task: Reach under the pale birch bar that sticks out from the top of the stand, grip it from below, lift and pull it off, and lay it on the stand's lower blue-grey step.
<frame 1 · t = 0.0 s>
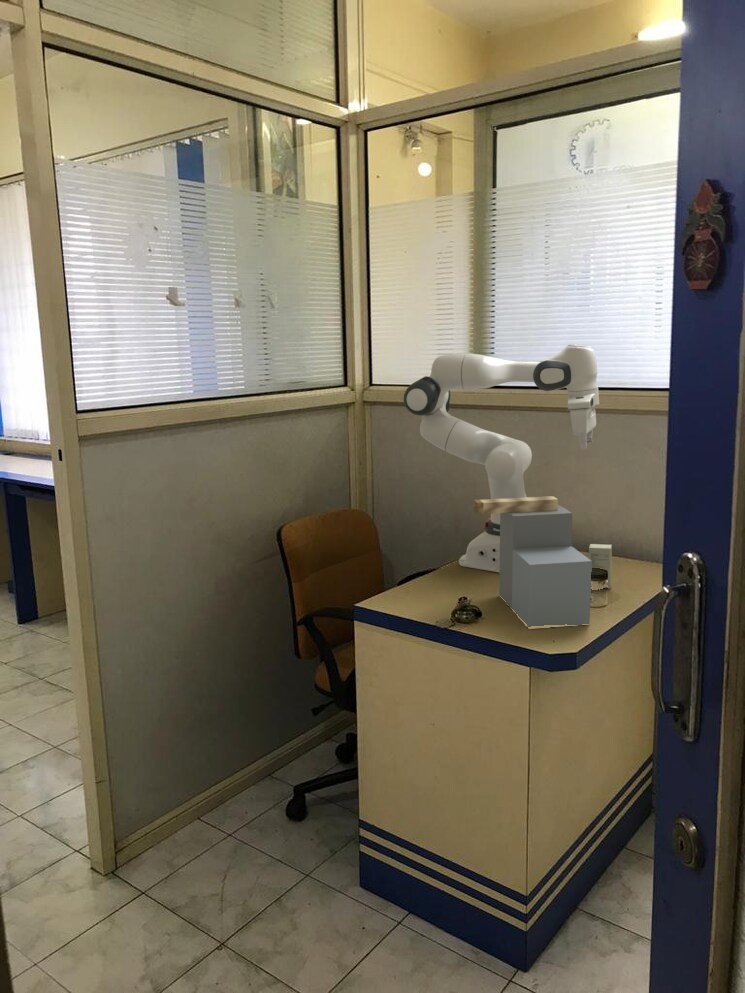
hand: (586, 446, 243), 39 cm above the table, tool pointing down, fingers open, 8 cm apart
birch bar: (515, 510, 220), point 26 cm above the table, touching stepped stand
stepped stand: (533, 601, 227), on the table
skincare box: (599, 587, 238), on the table
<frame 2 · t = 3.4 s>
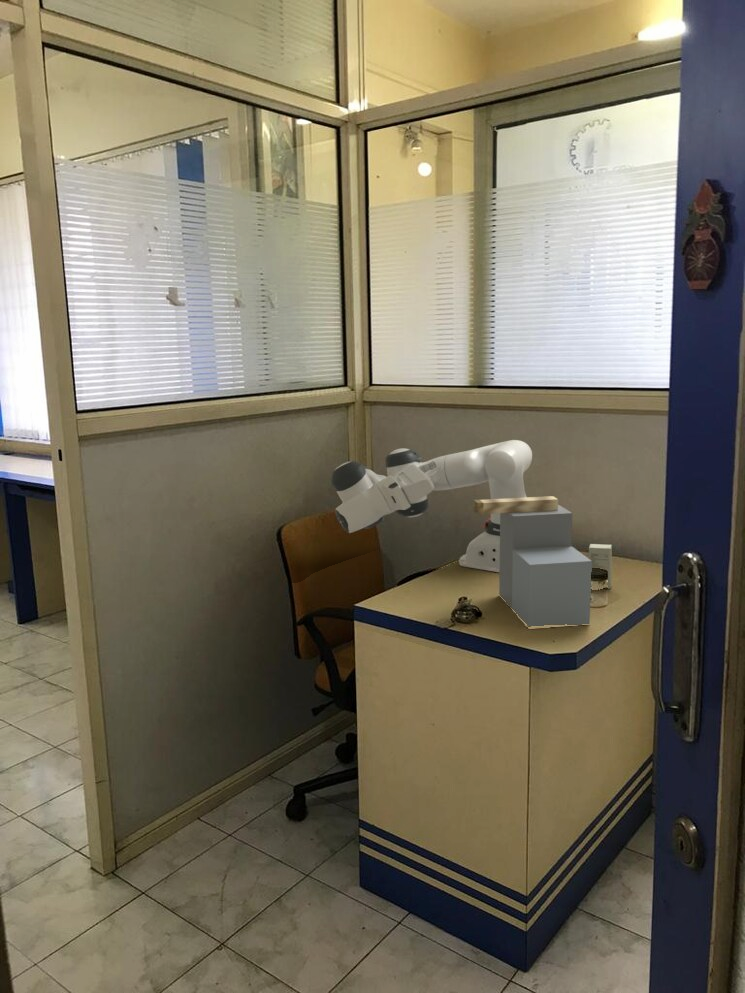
hand: (439, 466, 215), 39 cm above the table, tool pointing upward, fingers open, 8 cm apart
nothing on the table moved.
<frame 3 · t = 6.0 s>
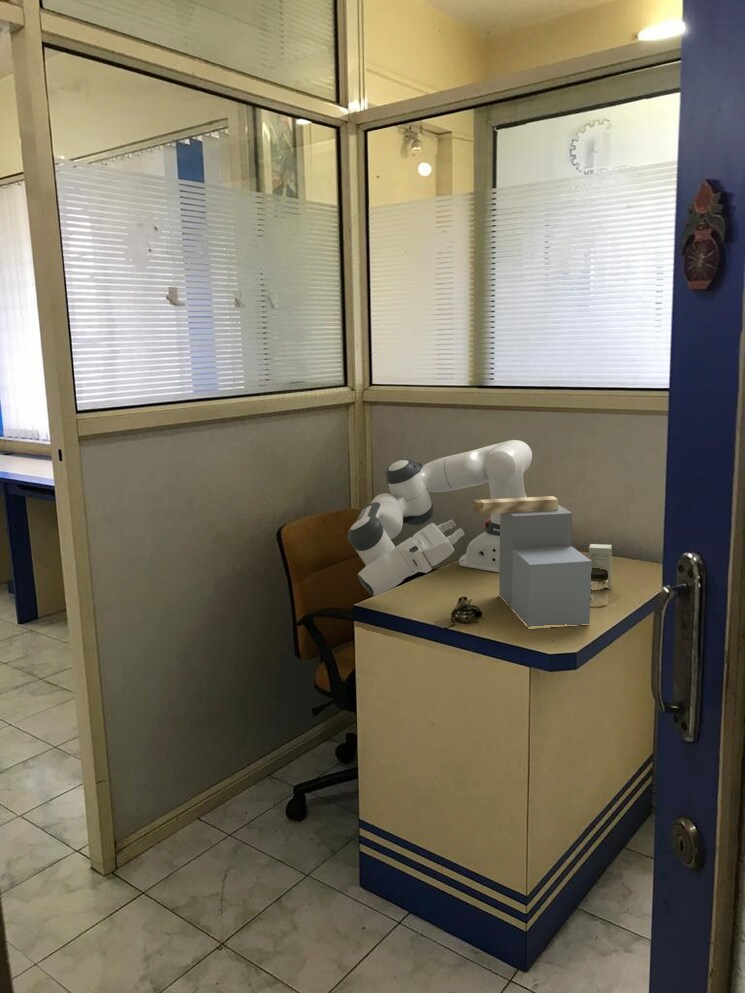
hand: (458, 526, 219), 23 cm above the table, tool pointing upward, fingers open, 8 cm apart
nothing on the table moved.
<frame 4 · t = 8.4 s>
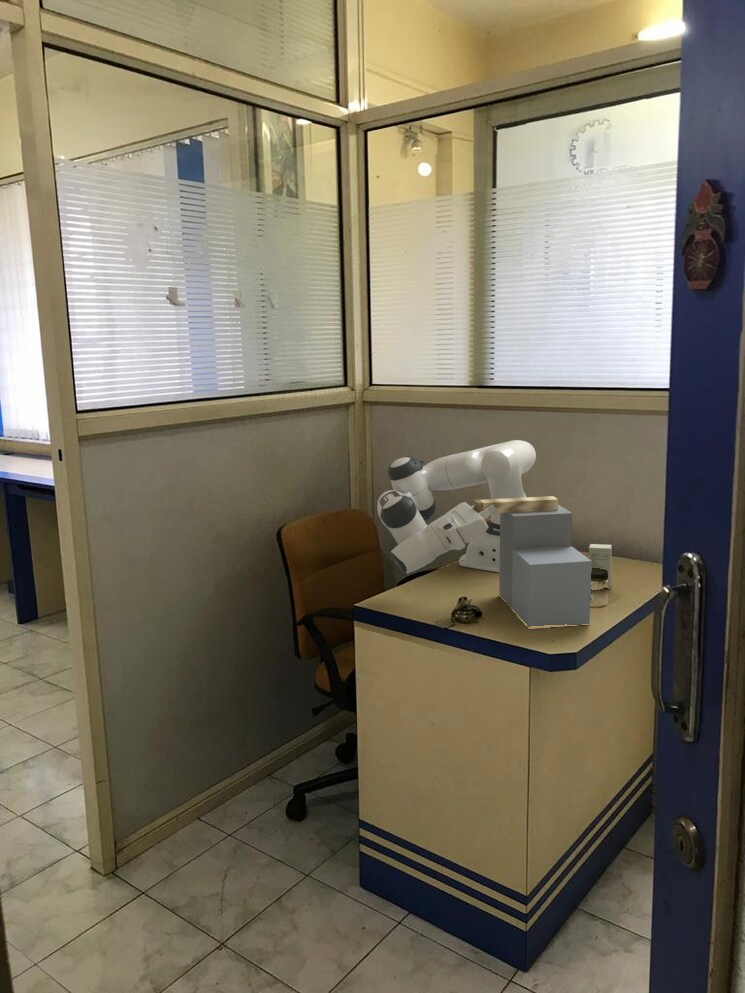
hand: (491, 504, 219), 28 cm above the table, tool pointing upward, fingers closed on birch bar, 4 cm apart
birch bar: (515, 510, 220), point 26 cm above the table, touching gripper, stepped stand
everything else where it was.
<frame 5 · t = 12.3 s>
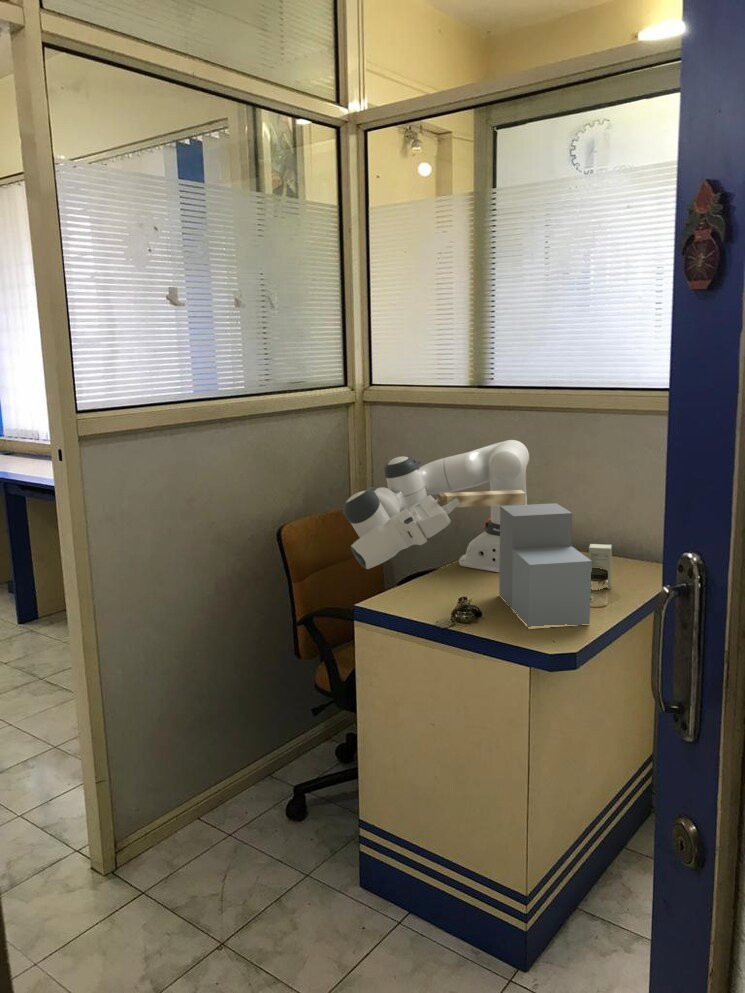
hand: (456, 498, 210), 32 cm above the table, tool pointing upward, fingers closed on birch bar, 4 cm apart
birch bar: (481, 504, 212), point 30 cm above the table, touching gripper
everything else where it was.
when the fingers open (20 cm above the table, at t = 16.4 s): birch bar stays where it is, resting on stepped stand.
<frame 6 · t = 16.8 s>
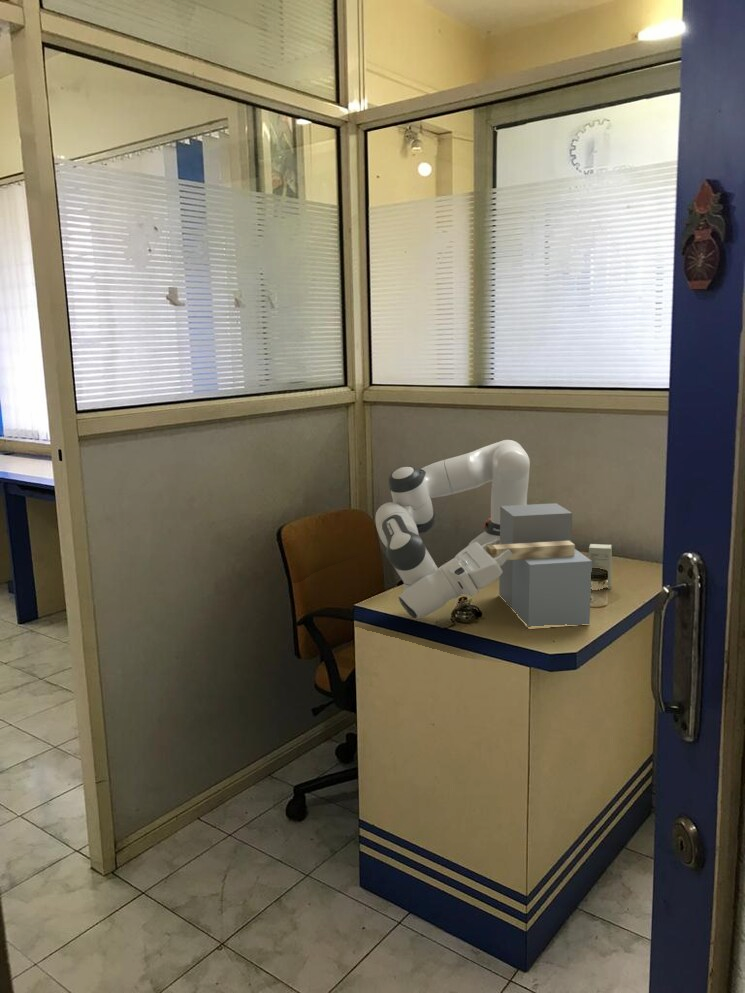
hand: (505, 546, 208), 20 cm above the table, tool pointing upward, fingers open, 8 cm apart
birch bar: (530, 556, 210), point 17 cm above the table, touching stepped stand
everything else where it was.
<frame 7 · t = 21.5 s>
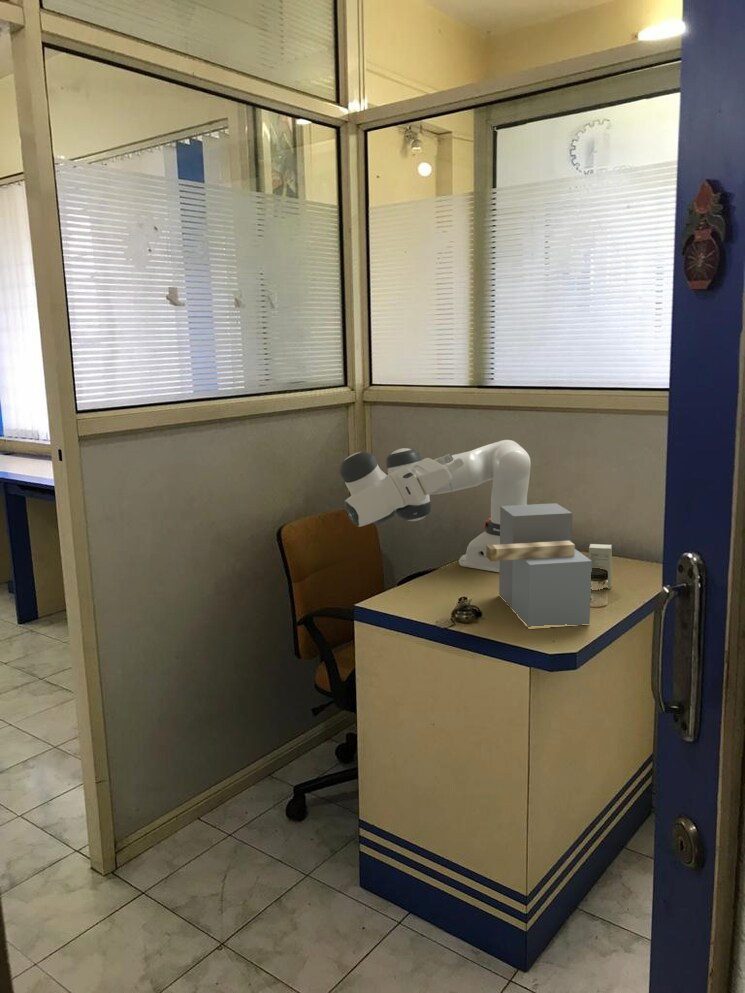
hand: (456, 458, 202), 43 cm above the table, tool pointing upward, fingers open, 8 cm apart
nothing on the table moved.
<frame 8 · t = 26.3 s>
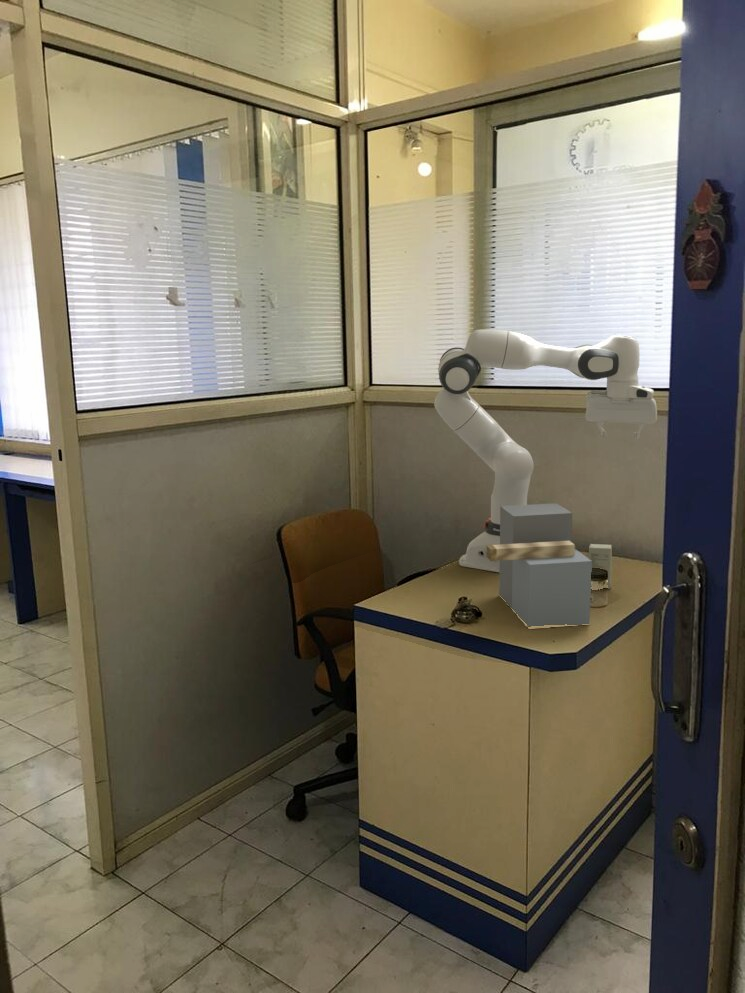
hand: (619, 437, 244), 41 cm above the table, tool pointing down, fingers open, 8 cm apart
nothing on the table moved.
at the end: birch bar inside the target area (0.1 cm from its centre), point 17.0 cm above the table; the gripper is holding nothing; birch bar tilted 0° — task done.
